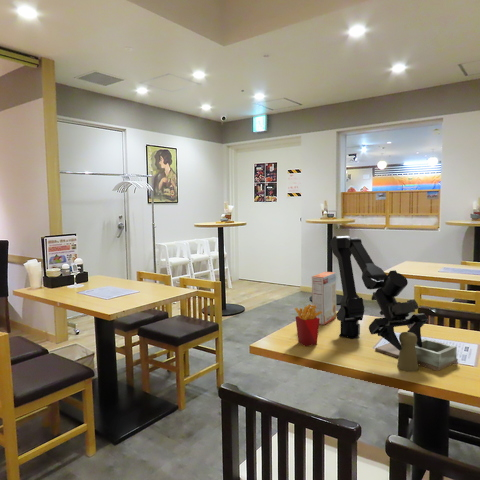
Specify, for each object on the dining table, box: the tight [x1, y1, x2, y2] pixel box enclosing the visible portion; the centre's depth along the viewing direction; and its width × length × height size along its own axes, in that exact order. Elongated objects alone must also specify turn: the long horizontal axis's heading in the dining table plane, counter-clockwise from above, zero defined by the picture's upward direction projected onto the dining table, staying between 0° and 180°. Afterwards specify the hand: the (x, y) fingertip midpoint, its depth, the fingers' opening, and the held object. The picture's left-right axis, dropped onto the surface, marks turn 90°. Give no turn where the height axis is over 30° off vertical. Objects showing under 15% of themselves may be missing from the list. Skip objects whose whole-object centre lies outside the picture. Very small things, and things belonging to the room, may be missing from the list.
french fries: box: [294, 303, 322, 347], centre depth 145 cm, size 9×8×15 cm
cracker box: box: [311, 271, 337, 326], centre depth 175 cm, size 14×6×21 cm, turn 145°
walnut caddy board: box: [374, 338, 459, 372], centre depth 132 cm, size 22×12×5 cm, turn 35°
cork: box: [396, 331, 419, 373], centre depth 122 cm, size 6×6×11 cm
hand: (411, 348), depth 121 cm, fingers open, 7 cm apart
